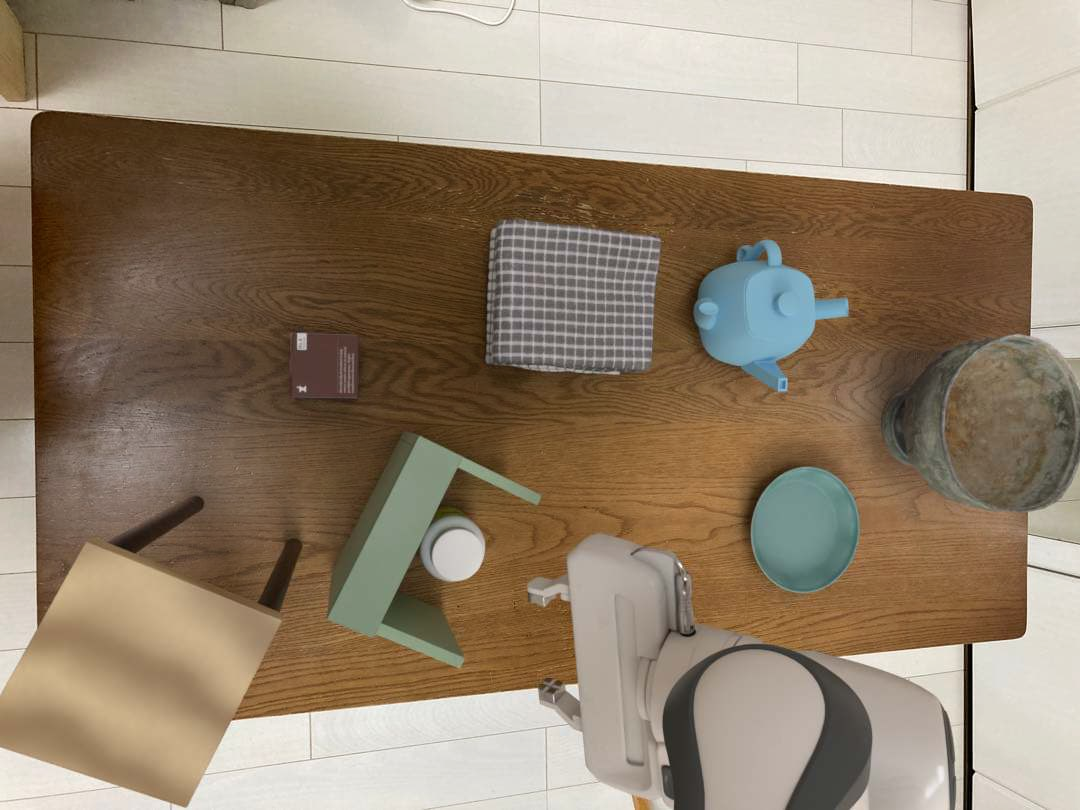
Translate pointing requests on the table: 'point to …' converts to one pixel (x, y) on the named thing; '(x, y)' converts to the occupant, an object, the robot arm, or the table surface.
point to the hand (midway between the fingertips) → (536, 640)
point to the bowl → (991, 424)
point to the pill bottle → (452, 546)
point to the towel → (570, 298)
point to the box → (324, 366)
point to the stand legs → (186, 509)
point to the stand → (134, 673)
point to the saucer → (805, 529)
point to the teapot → (759, 312)
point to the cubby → (402, 549)
